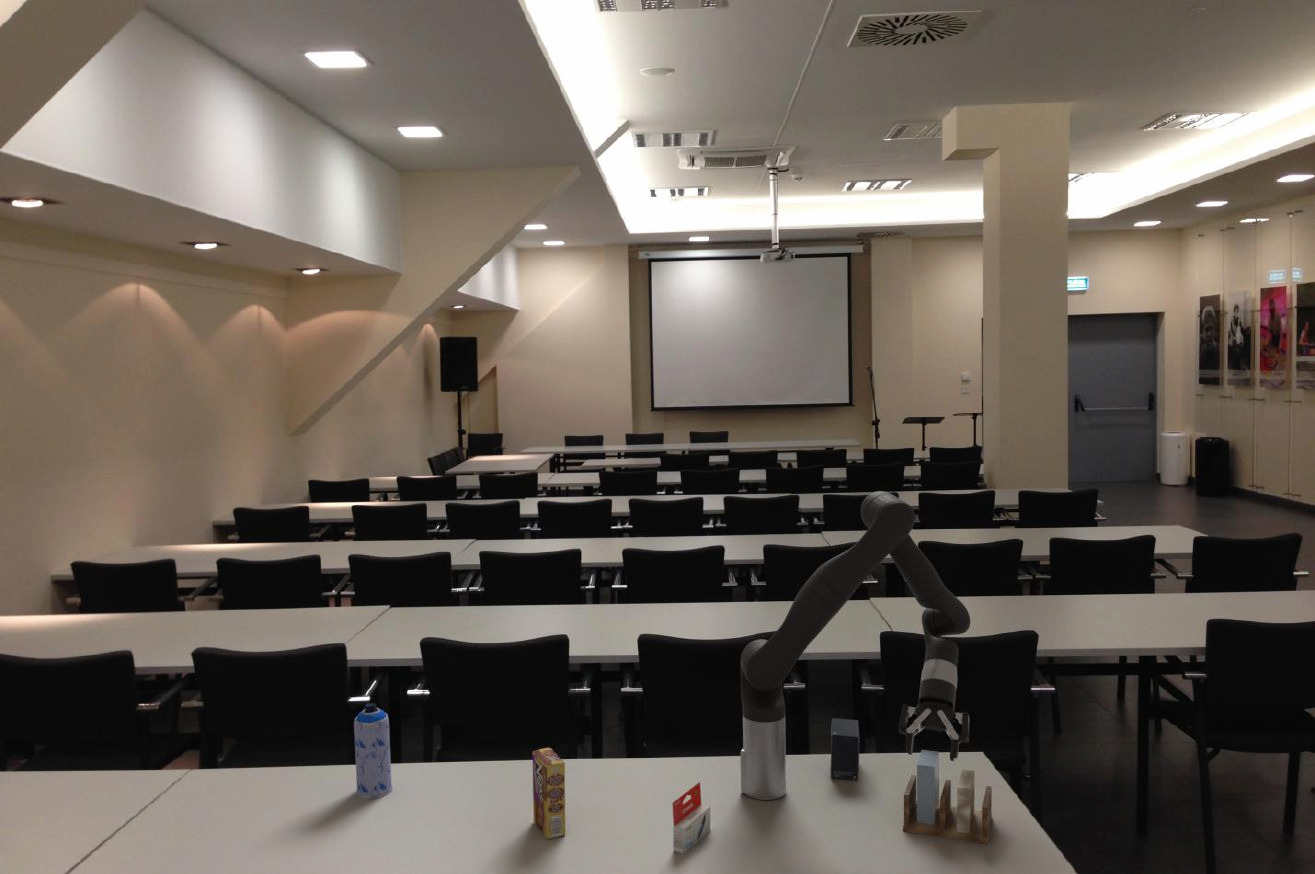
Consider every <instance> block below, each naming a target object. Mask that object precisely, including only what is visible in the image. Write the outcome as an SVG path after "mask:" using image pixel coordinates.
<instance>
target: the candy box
mask: <svg viewBox="0 0 1315 874" xmlns="http://www.w3.org/2000/svg"><path fill="white" fill-rule="evenodd" d="M565 767H566V765H565V761H564V760H563V759H562V758H561V757H560V756H559V755H558V754H557V753H556V752H555V751H554V750H553V749H552V748H551V747H545V748H540V749H535V750H533V751H532V797H533V799H532V801H533V802H532V803H533V805H532V806H533V807H532V808H533V823H534V824H535V826H537V828H538V829H539V831H540V832H541V833H542V835H544V837H545V838H546V840H550V839H555V838H556V839H557V838H560V837H562V836H563V837H564V836H566V790H565V789H566V785H565V784H566V778H565V777H566V773H565V772H566V768H565Z"/></svg>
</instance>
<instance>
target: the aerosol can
mask: <svg viewBox="0 0 1315 874" xmlns="http://www.w3.org/2000/svg"><path fill="white" fill-rule="evenodd" d="M353 728H354V729H353V732H354V751H355V752H354V753H355V755H354V756H355V774H356V776H355V777H356V792H355V793H356V794H355V795H356V796H357V797H359V798H360V799H365V800H371V799H377V798H383V797H385V796H387V795H389V794H390V793H391V792H392V791H393V785H392V765H391V763H392V762H391V761H392V760H391V746H390V744H391V743H390V740H391V739H390V738H391V737H390V720H389V715H388V713H386V712H385V711H384V710H383V709H380V708H378V707H377V703H375V702H368V703H366V704H365V709H363V710H362V711H360V712H359V713H358V714H357V716H356V717H355V718H354V722H353Z"/></svg>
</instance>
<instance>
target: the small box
mask: <svg viewBox="0 0 1315 874" xmlns="http://www.w3.org/2000/svg"><path fill="white" fill-rule="evenodd" d="M859 729H860V728H859V720H858V719H857V720H856V719H844V718H833V717H832V718H831V730H830V779H832V780H833V779H834V780H848V781H858V780H859V771H860V770H859V769H860V731H859Z"/></svg>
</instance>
